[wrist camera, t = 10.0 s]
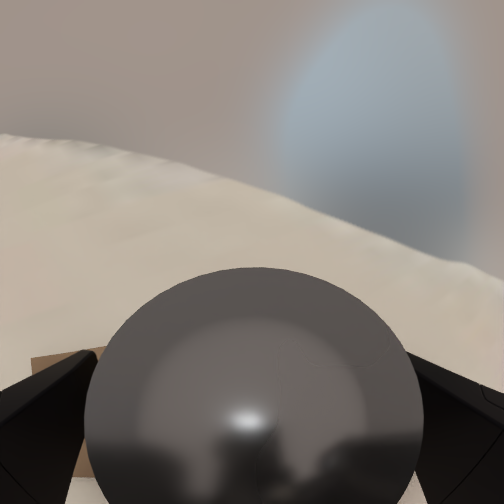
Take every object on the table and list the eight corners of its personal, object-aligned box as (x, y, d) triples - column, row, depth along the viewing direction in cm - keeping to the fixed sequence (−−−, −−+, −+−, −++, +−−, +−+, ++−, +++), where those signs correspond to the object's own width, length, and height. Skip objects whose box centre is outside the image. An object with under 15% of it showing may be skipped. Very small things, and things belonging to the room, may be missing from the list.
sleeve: (230, 464, 13) (227, 611, 1) (181, 401, 14) (36, 371, 3) (295, 419, 14) (467, 427, 3) (247, 358, 16) (289, 216, 4)
